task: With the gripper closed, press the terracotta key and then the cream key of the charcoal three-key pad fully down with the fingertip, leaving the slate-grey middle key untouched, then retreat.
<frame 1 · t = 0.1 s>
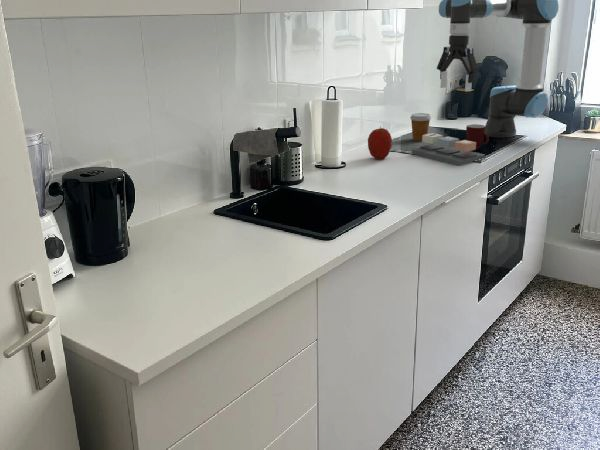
hand: (455, 89, 242), 28 cm above the worktop, fingers open, 13 cm apart
disposable coffee cup: (419, 140, 282), on the worktop
key slate: (448, 141, 249), point 6 cm above the worktop, slide at 0.0 cm
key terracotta: (465, 145, 242), point 6 cm above the worktop, slide at 0.0 cm
key cream: (432, 138, 256), point 6 cm above the worktop, slide at 0.0 cm
apple: (379, 159, 251), on the worktop
mug: (476, 149, 262), on the worktop
keypad base: (447, 156, 251), on the worktop
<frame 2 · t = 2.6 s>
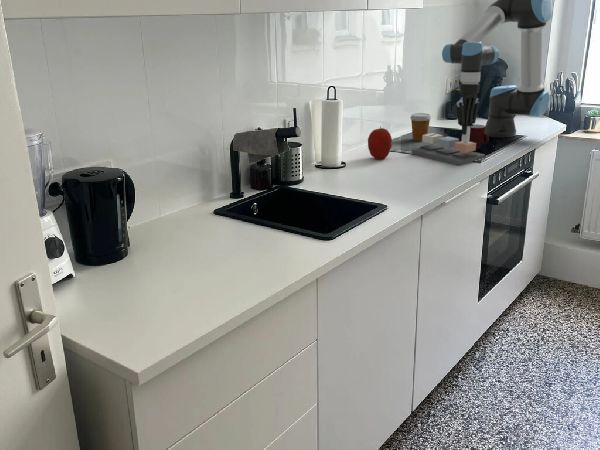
hand: (465, 141, 241), 8 cm above the worktop, fingers closed
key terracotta: (465, 146, 242), point 6 cm above the worktop, slide at 0.3 cm, touching gripper
everything else where it was.
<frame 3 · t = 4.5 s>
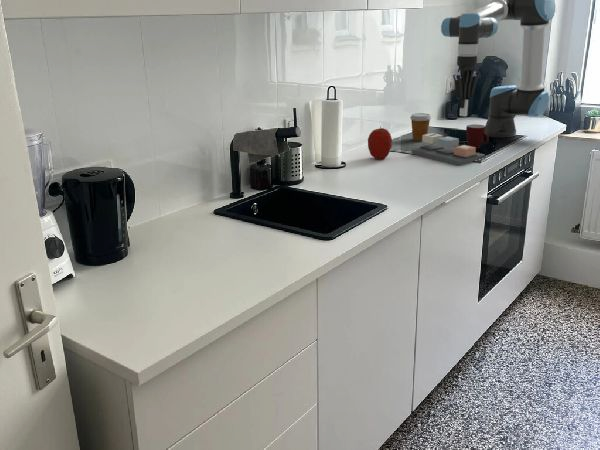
hand: (463, 115, 239), 18 cm above the worktop, fingers closed
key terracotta: (464, 150, 243), point 4 cm above the worktop, slide at 2.1 cm, touching keypad base
everything else where it was.
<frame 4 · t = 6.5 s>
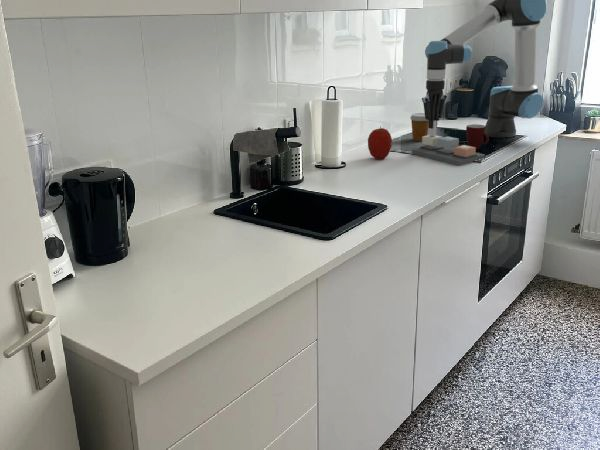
hand: (432, 135, 255), 8 cm above the worktop, fingers closed
key cream: (432, 139, 256), point 6 cm above the worktop, slide at 0.6 cm, touching gripper
everything else where it was.
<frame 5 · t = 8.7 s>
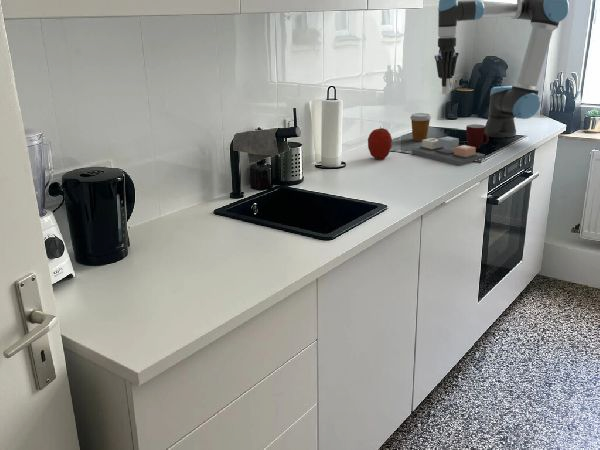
hand: (445, 93, 257), 24 cm above the worktop, fingers closed
key cream: (432, 143, 256), point 4 cm above the worktop, slide at 2.1 cm, touching keypad base
everything else where it was.
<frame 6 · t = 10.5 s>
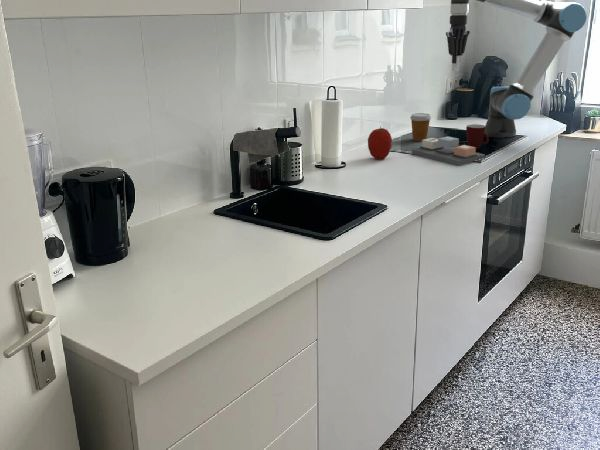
hand: (455, 70, 264), 32 cm above the worktop, fingers closed
nothing on the worktop moved.
at the end: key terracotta slide at 2.1 cm; key cream slide at 2.1 cm; key slate slide at 0.0 cm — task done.
